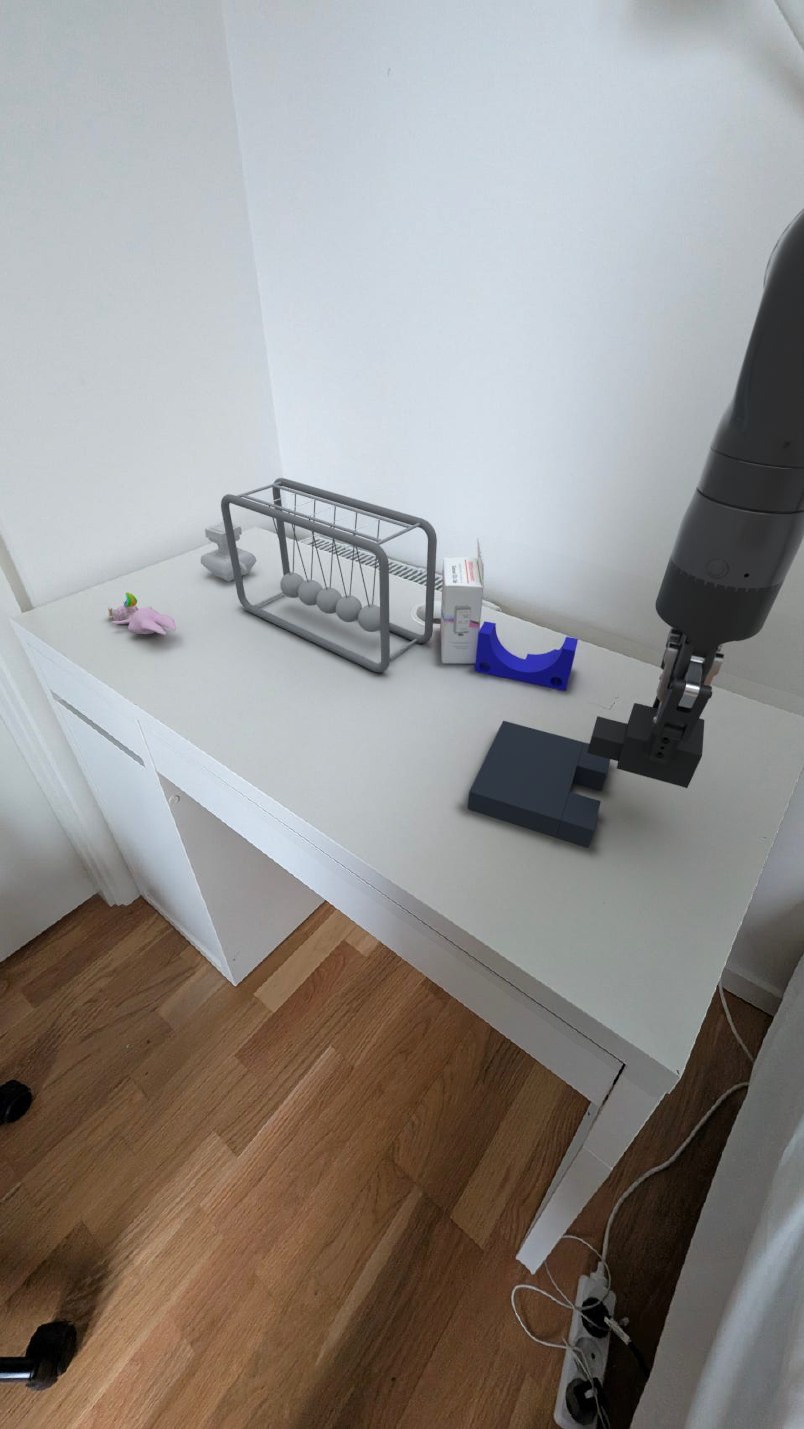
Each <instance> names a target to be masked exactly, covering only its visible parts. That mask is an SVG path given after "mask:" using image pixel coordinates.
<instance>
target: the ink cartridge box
mask: <svg viewBox="0 0 804 1429" xmlns="http://www.w3.org/2000/svg"><path fill="white" fill-rule="evenodd" d="M476 540H477V557H443V558H442V580H441V582H442V583H441V605H440V607H441V608H440V621H439V622H440V623H439V624H440V625H439V626H440V627H439V634H440V635H439V636H440V652H441V654H440V655H441V664H442V665H443V664H475V663H476V653H477V643H478V633H479V631H480V629H481V619H482V609H483V598H484V581H485V580H484V577H485V576H484V574H485V572H484V570H485V569H484V566H485V565H484V564H485V563H484V557H483V551H482V546H481V541H480V537H479V536H478V537H477V539H476Z"/></svg>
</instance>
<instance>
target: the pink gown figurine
mask: <svg viewBox="0 0 804 1429" xmlns="http://www.w3.org/2000/svg"><path fill="white" fill-rule="evenodd" d="M125 595H126V599H125V601H124V600H122V603H123V605H121V606H119V607H117V608H116V609H114V608H112V607H111V608H110V607H109V606H107V609H108V618H111V619H112V622H111V624H112V625H114V626H115V625H125V624H128V626H127V627H128V628H127V629H128V631H129V632H130V633H133V634H140V635H151V634H154V633H158V634H160V635H163V636H166V635H167V632H166V631H165V629H164V628H166V629H169V630H171V631H173V632H175V631H176V629H177V626H176V622H175V620H174V617H172V616H171V615H168V614H161V613H159V611H157V610H156V609H153V607H152V606H148V607H141V608H138V606H137V604H138V599H137V597H135V595H134V594H133V593H130V592H125ZM163 627H164V628H163Z"/></svg>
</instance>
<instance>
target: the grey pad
mask: <svg viewBox="0 0 804 1429" xmlns="http://www.w3.org/2000/svg"><path fill="white" fill-rule="evenodd" d="M589 744H590V742H589V743H588V742H584V741H581V740H578V739H574V738H570V737H567V736H563V735H558V734H555V733H552V732H547V731H545V730H544V731H543V730H540V729H536V728H532V727H528V726H526V725H521V724H518V723H513V722H510V721H507V720H502V722H501V724H500V726H499V728H498V731H497V732H496V734H495V737H494V739H493V741H492V743H491V745H490V748H489V749H488V751H487V753H486V756H485V758H484V760H483V762H482V764H481V766H480V768H479V770H478V773H476V777H475V778H474V781H473V783H472V785H471V787H470V790H469V792H468V801H467V809H468V810H470V811H474V812H477V813H480V814H483V815H487V816H490V817H491V818H496V819H499V820H501V821H505V822H508V823H511V824H514V825H518V826H521V827H523V828H526V829H529V830H533V831H535V832H539V833H542V834H546V835H547V836H552V837H555V838H557V839H561V840H564V841H567V842H570V843H573V844H576V845H579V846H582V847H585V848H590V845H591V842H592V838H593V835H594V832H595V829H596V825H597V820H598V815H599V810H600V807H601V803H602V801H601V800H599V799H595V798H593V797H589V796H585V795H582V794H579V793H575V792H572V791H571V789H572V786H573V784H575V785H576V784H577V785H581V786H583V787H587V788H591V789H593V790H597V791H601V792H602V791H603V788H604V786H605V785H604V784H605V782H606V778H607V775H608V772H609V768H610V764H611V759H607V758H604V757H600V756H596V755H593V754H589V753H587V751H588V747H589Z"/></svg>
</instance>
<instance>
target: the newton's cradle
mask: <svg viewBox="0 0 804 1429" xmlns="http://www.w3.org/2000/svg"><path fill="white" fill-rule="evenodd" d="M270 488H271V490H272V498H273V500H271V501H265V500H263V499H259V498H256V497H253V496H250V495H252V494H255V493H259V492H262V491H266V490H269V489H270ZM281 490H282V491H285V492H288V493H292V494H289V495H286V496H283V497H281V496H282V494H281ZM293 495H294V506H292V507H290V508H286V507H284V506H283V505H282V499H285V498H288V497H290V496H293ZM297 495H299V496H301V497H304V498H308V499H311V500H308V501H306V502H304V503H300V504H297ZM316 501H318V502H321V503H325V504H327V505H331V506H329V507H328V508H325V509H322V510H319V511H317V512H316ZM311 502H314V503H313V513H312V514H309V515H308V514H305V513H301V512H299V511H297V510H296V508H297V507H299V506H302V505H305V504H309V503H311ZM230 504H232V505H235V506H237V507H241V508H244V509H246V510H250V511H252V512H255V513H258V514H261V515H264V516H267V517H270V518H271V519H272V522H273V525H274V529H275V531H276V535H277V538H278V544H279V545H278V546H279V552H280V559H281V566H282V574H283V576H282V577H281V579H280V583H279V584H280V585H279V587H280V590H281V592H279V593H277V594H275V595H272V596H271V597H269V598H267V599H264V600H262V601H261V602H258V603H256V604H254V605H253V604H251V603H250V602H249V600H248V598H247V596H246V592H245V586H244V581H243V575H241V569H240V564H239V558H238V553H237V548H238V547H237V543H236V542H237V541H236V542H235V536H234V531H233V525H232V524H233V521H232V515H231V510H230ZM337 507H338V508H341V509H344V510H347V511H351V512H353V513H351V514H348V515H346V516H344V517H340V518H339V519H336V511H337ZM331 508H333V510H334V512H333V521H331V522H329V521H326V520H323V519H320V518H316V517H315V516H316V514H319V513H322V512H325V511H327V510H329V509H331ZM292 509H294V510H292ZM220 511H221V516H222V522H224V526H225V532H226V537H227V542H228V547H229V553H230V558H231V563H232V568H233V574H234V579H233V580H234V584H235V590H236V594H237V597H238V601H239V603H240V604H241V606H242V607H243V608H244V610H246V611H247V612H249V613H251V614H253V615H255V616H257V617H258V618H259V617H260V618H261V619H263V620H266V621H268V622H270V623H272V624H274V625H276V626H278V627H280V628H282V629H285V630H286V631H288V632H291V633H293V634H295V635H296V636H299V637H300V638H301V637H302V638H303V639H305V640H307V641H310V642H311V643H313V644H316V645H318V646H320V647H322V648H324V649H326V650H328V651H330V652H333V653H335V654H337V655H339V656H341V657H343V658H345V659H347V660H350V661H351V662H354V663H355V664H358V665H360V666H362V667H364V668H365V669H368V670H370V671H371V672H375V673H384V672H385V671H387V670H388V668H389V666H390V663H391V662H390V661H391V659H392V658H394V657H395V656H397V655H399V654H400V653H401V652H403V651H405V650H406V649H407V648H409V647H411V646H412V645H414V644H415V643H418V644H426V643H428V642H429V641H430V640H431V639H432V637H433V632H434V613H435V612H434V611H435V590H436V572H437V571H436V568H437V546H438V545H437V544H438V539H437V532H436V530H435V528H434V526H433V525H432V524H431V522H429V521H428V520H426V519H424V518H422V517H418V516H416V515H415V516H414V515H411V514H407V513H405V512H401V511H397V510H394V509H391V508H387V507H384V506H380V505H377V504H373V503H370V502H367V501H364V500H360V499H356V498H353V497H350V496H346V495H343V494H339V493H336V492H333V491H329V490H325V489H322V488H319V487H317V486H316V487H315V486H312V485H309V484H305V483H301V482H298V481H294V480H292V479H288V478H285V477H279V478H277V479H275V480H274V482H273V483H271V484H268V485H265V486H261V487H259V488H256V489H252V490H249V491H246V492H243V493H240V494H237V495H234V494H231V493H230V494H229V493H227V494H225V495H223V496H222V498H221V500H220ZM358 514H360V515H363V516H367V517H370V518H373V519H376V520H373V521H371V522H368V523H367V524H364V525H361V526H359V527H357V522H358V521H357V520H358ZM352 515H355V521H354V522H355V523H354V529H351V528H347V527H344V526H341V525H339V524H336V522H338V521H340V520H342V519H346V518H347V517H350V516H352ZM377 521H378V522H377ZM380 521H383V522H387V523H390V524H391V525H392V524H393V525H396V526H399V527H402V528H403V529H402V530H400V531H398V532H396V533H394V534H392V535H389V536H387V537H385V538H382V539H381V538H379V536H380V524H381V523H380ZM375 522H377V534H376V535H377V536H376V537H375V536H373V535H368V534H367V533H366V534H365V533H362V532H359V531H358V530H359V529H361V528H364V527H366V526H369V525H371V524H372V523H375ZM285 523H287V524H290V525H291V529H292V531H293V545H292V546H293V547H292V548H293V549H292V555H293V556H292V571H291V568H290V560H289V553H288V543H287V537H286V535H287V534H286V528H285ZM296 527H299V528H302V529H304V530H307V531H310V532H311V535H312V542H311V564H310V578H309V579H308V576H307V572H306V568H305V564H304V561H303V557H302V553H301V550H300V545H299V543H298V539H297V538H298V537H297V535H296ZM417 528H419V529H421V530H423V531H424V532H425V535H426V537H427V555H426V582H425V583H426V585H425V588H426V589H425V607H424V608H425V611H424V632H423V634H419V633H416V632H414V631H412V630H409V629H406V628H404V627H402V626H399V625H397V624H396V623H392V622H390V563H389V558H388V555H387V553H386V551H385V550H384V549H383V547H382V546H381V545H383V544H385V543H387V542H389V541H391V540H394V539H395V538H397V537H399V536H400V537H401V536H402V535H403V534H406V533H408V532H410V531H412V530H414V529H417ZM315 533H316V534H319V535H322V536H324V537H326V538H327V537H328V538H330V539H332V542H331V544H332V545H331V557H330V558H331V559H330V576H329V586H327V583H326V578H325V575H324V571H323V566H322V563H321V562H322V561H321V558H320V555H319V549H318V546H317V543H316V542H317V541H316V538H315ZM336 541H340V542H342V543H344V544H347V545H351V546H353V547H352V559H351V569H350V570H351V571H350V583H349V594H347V591H346V586H345V582H344V578H343V572H342V568H341V563H340V559H339V555H338V550H337V546H336ZM295 542H296V546H297V550H298V553H299V558H300V560H301V564H302V567H303V572H304V575H305V578H306V580H305V579H304V577H303V576H302V575H301V574H299V573H296V572H295ZM314 547H315V550H316V553H317V558H318V562H319V566H320V571H321V575H322V578H323V583H324V586H325V588H323V586H322V585H321V584H320V583H319V581H316V580H314V579H313V564H314V561H313V559H314ZM358 548H359V549H362V550H365V551H368V552H371V553H372V554H373V555H374V556H375V560H374V572H373V587H372V599H371V603H370V601H369V597H368V591H367V588H366V587H367V586H366V582H365V578H364V573H363V568H362V562H361V559H360V555H359V549H358ZM334 550H335V554H336V559H337V563H338V568H339V572H340V578H341V582H342V586H343V590H344V596H342V594H341V593H340V591H339V590H337V589H336V588H334V587H332V572H333V561H334V560H333V559H334V555H333V554H334ZM355 550H356V555H357V560H358V564H359V569H360V573H361V579H362V583H363V587H364V592H365V596H366V602H367V604H366V605H364V606H363V605H362V603H361V601H360V599H359V598H357V597H356V596H354V595H351V593H352V581H353V570H354V560H355V557H354V556H355ZM377 561H378V574H379V582H378V583H379V605H377V604H374V601H375V586H376V573H377ZM283 595H285V597H288V598H290V599H297V598H298V599H299V600H300V602H301V603H302V604H304V605H306V606H310V607H313V606H316V605H317V608H318V609H319V611H321V612H322V613H324V614H326V615H328V614H329V615H332V614H335V613H336V616H337V617H338V618H339V619H340V620H341V621H343V622H344V623H354V622H356V621H358V622H357V623H358V624H359V626H360V628H361V629H362V630H364V631H366V632H369V633H375V632H378V631H380V662H379V663H378V662H375V661H373V660H371V659H369V658H366V657H364V656H362V655H360V654H358V653H356V652H353V651H352V650H349V649H347V648H345V647H343V646H341V645H339V644H336V643H335V642H332V641H330V640H328V639H325V638H324V637H321V636H320V635H317V634H315V633H313V632H311V631H309V630H306V629H304V628H303V627H300V626H298V625H296V624H293V623H292V622H290V621H288V620H286V619H283V618H282V617H279V616H276V615H274V614H272V613H270V612H268V611H265V610H264V609H262V608H259V607H260V606H262V605H264V604H266V603H268V602H270V601H273V600H274V599H277V598H279V597H281V596H283ZM390 632H392V633H394V634H396V635H398V636H401V637H403V638H406V639H408V640H410V641H409V642H408V643H407V644H405V645H404V646H402V647H400V648H399V649H398V650H396V651H394V652H393V653H391V652H390V651H391V647H390V646H391V645H390V643H391V642H390V641H391V640H390Z"/></svg>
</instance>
